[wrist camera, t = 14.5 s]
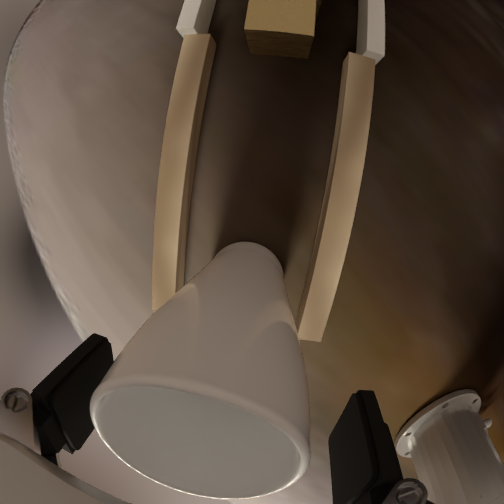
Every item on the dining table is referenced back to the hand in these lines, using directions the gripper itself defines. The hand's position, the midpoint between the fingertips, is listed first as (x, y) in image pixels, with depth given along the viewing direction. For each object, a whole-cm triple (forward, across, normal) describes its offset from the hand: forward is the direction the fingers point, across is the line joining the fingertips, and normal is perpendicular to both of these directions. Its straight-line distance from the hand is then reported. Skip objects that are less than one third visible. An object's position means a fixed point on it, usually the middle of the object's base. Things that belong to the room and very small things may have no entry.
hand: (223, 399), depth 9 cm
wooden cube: (+12, +1, -19) cm, 22 cm away
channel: (+12, +1, -7) cm, 14 cm away
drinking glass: (+12, +1, 0) cm, 12 cm away
